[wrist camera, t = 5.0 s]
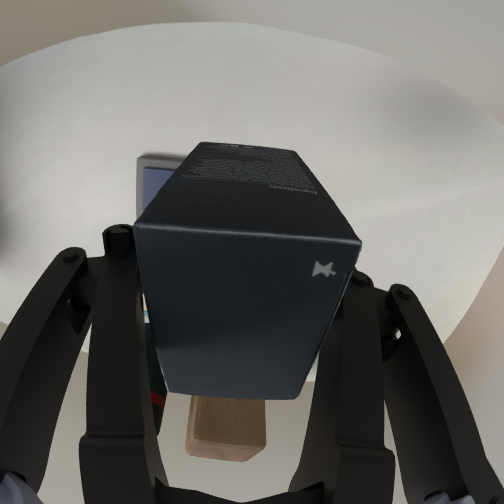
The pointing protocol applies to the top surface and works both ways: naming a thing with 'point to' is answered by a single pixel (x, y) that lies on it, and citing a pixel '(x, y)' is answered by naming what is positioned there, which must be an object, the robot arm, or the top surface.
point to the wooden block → (225, 428)
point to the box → (242, 271)
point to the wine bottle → (155, 379)
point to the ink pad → (152, 178)
